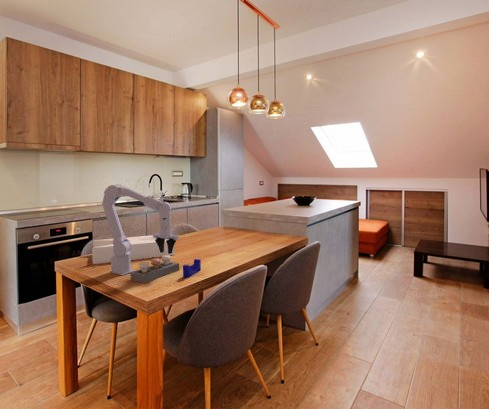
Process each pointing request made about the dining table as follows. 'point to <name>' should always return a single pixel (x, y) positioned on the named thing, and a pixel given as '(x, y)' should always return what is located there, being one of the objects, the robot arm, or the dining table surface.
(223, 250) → the dining table surface
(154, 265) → the knob middle
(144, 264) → the knob near
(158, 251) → the building model
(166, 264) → the knob far
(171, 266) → the mount
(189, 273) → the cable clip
